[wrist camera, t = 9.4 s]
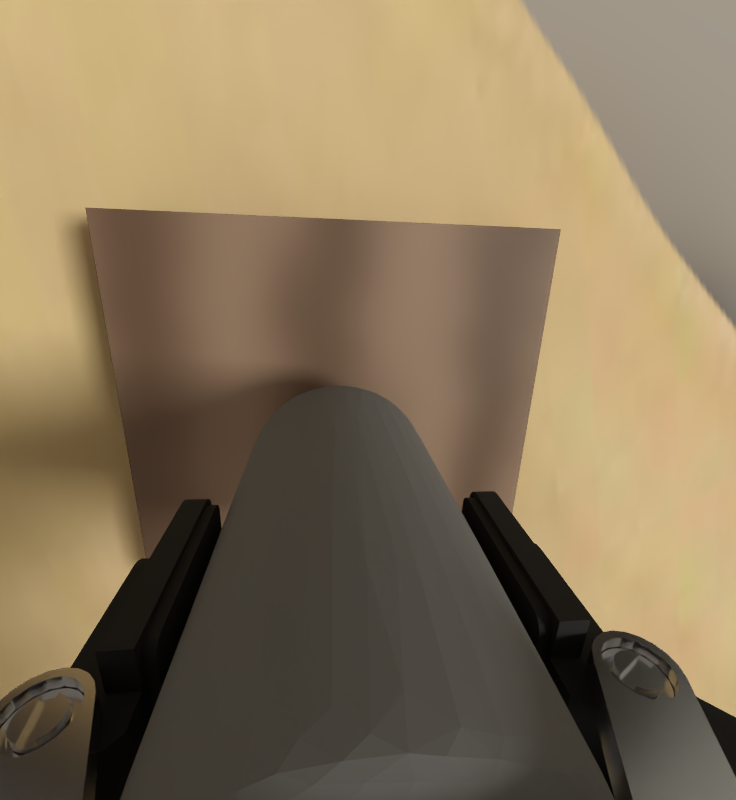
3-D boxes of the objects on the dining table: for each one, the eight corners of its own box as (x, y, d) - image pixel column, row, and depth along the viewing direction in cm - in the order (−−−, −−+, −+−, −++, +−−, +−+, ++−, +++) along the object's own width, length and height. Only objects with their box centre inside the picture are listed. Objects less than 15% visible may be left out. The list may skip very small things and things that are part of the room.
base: (522, 234, 17) (560, 229, 15) (477, 544, 23) (499, 585, 20) (128, 217, 16) (85, 207, 13) (177, 557, 21) (154, 603, 18)
